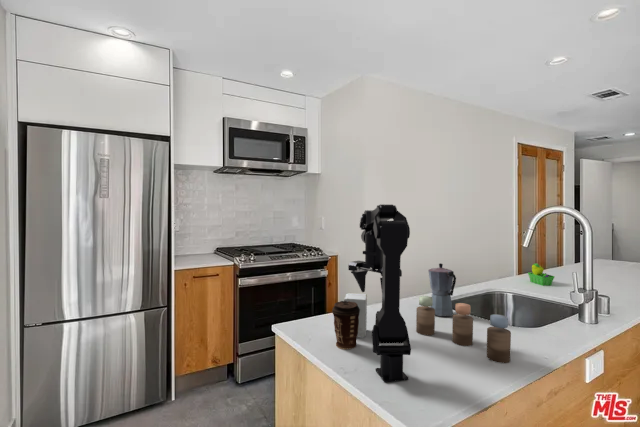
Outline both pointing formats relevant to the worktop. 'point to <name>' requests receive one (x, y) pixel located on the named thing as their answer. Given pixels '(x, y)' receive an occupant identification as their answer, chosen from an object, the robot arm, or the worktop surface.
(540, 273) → the fruit basket
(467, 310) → the terracotta button
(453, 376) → the worktop surface
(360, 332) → the supplement box
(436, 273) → the moka pot
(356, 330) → the coffee cup
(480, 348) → the worktop surface
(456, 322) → the button stands
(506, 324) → the slate-blue button
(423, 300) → the sage button
